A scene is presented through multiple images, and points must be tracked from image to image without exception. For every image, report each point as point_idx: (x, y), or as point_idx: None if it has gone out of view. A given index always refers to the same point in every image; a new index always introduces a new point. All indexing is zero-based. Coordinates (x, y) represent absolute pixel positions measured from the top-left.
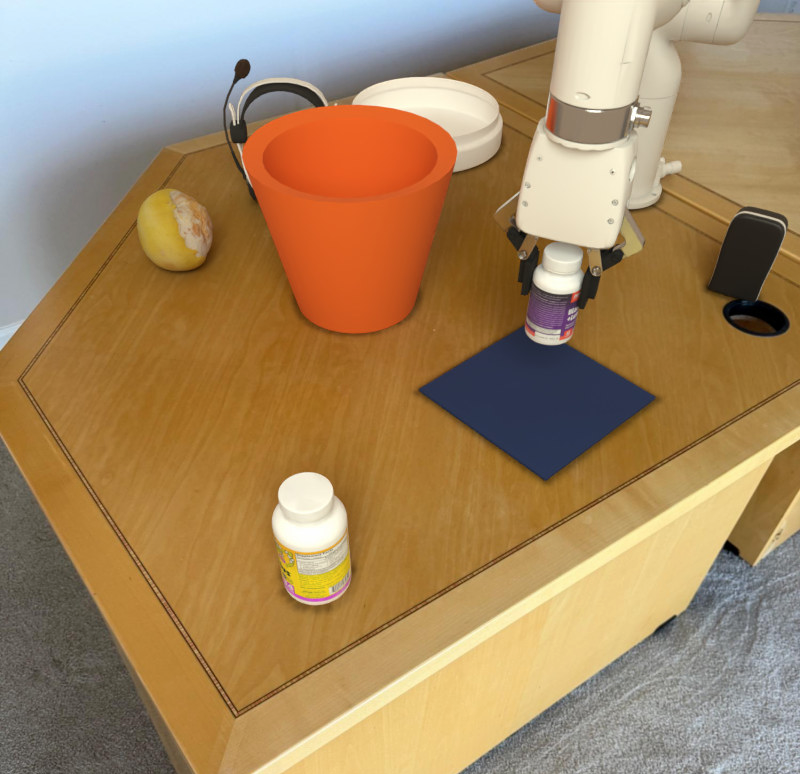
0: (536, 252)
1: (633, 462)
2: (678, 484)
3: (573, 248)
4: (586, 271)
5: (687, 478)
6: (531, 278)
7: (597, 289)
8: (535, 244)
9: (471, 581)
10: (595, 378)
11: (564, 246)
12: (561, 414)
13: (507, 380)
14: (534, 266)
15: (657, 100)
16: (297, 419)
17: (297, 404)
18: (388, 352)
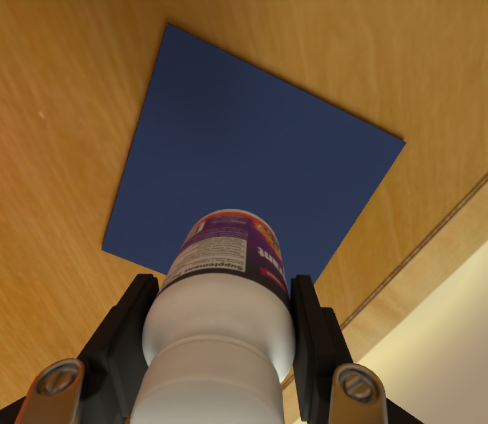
0: (110, 369)
1: (378, 265)
2: (430, 278)
3: (235, 412)
4: (305, 409)
5: (441, 266)
6: None
7: (333, 311)
8: (86, 403)
9: None
10: (312, 137)
11: (196, 407)
12: (281, 229)
13: (194, 193)
14: (136, 359)
15: None
16: (22, 328)
17: (5, 311)
18: (22, 193)
